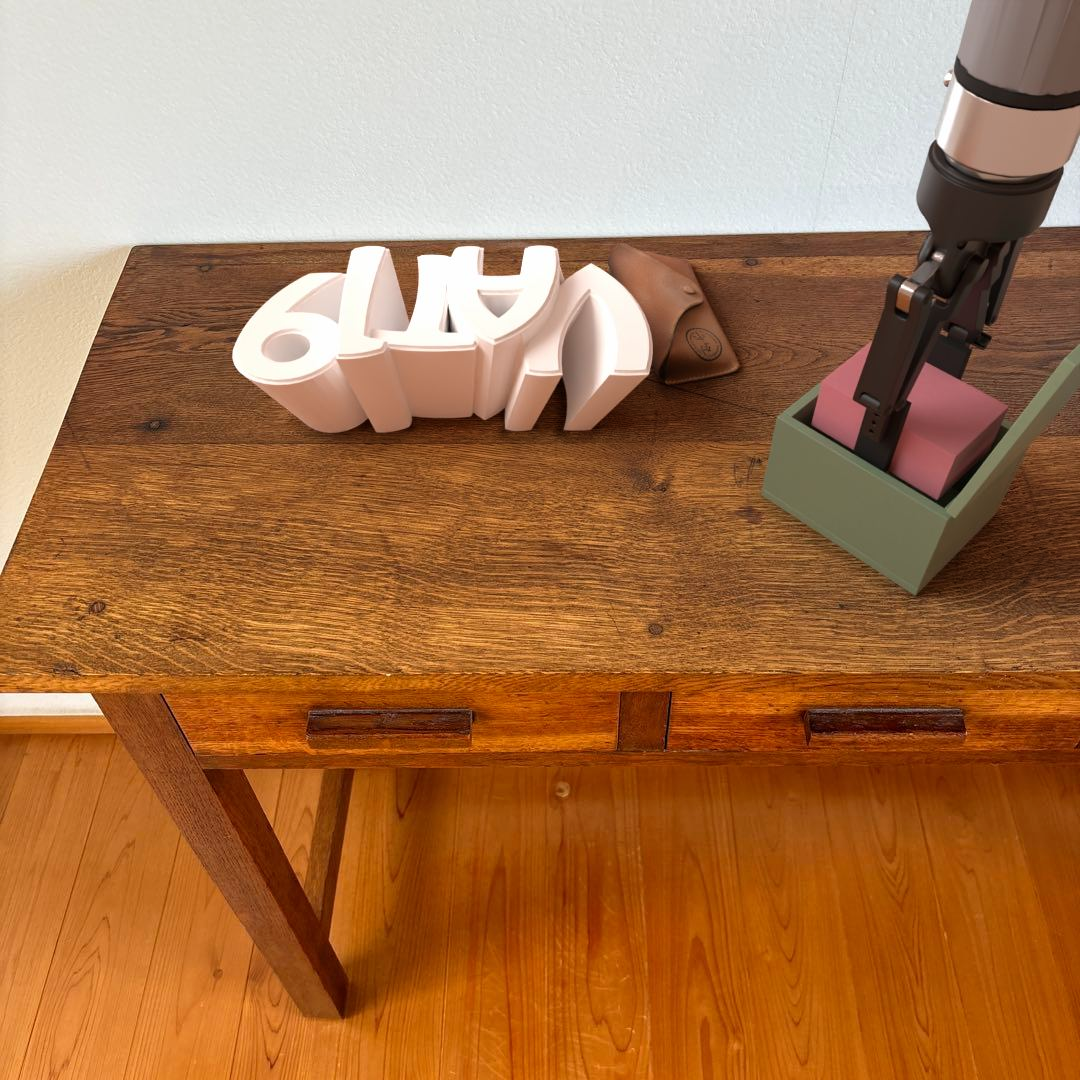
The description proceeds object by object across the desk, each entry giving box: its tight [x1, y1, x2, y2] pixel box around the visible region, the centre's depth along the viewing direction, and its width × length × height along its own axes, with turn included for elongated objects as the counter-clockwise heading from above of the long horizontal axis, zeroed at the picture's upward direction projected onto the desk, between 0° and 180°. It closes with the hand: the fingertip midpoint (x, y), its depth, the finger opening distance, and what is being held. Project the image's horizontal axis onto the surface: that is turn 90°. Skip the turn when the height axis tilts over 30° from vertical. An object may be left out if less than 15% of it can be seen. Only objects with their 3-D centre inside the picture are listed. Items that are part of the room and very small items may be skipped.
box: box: [760, 346, 1030, 596], centre depth 79 cm, size 15×12×9 cm
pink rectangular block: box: [811, 339, 1010, 500], centre depth 75 cm, size 11×7×4 cm, turn 44°
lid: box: [946, 343, 1080, 518], centre depth 65 cm, size 15×12×1 cm
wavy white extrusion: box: [232, 245, 653, 434], centre depth 88 cm, size 35×16×11 cm, turn 86°
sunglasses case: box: [607, 243, 740, 386], centre depth 96 cm, size 18×7×7 cm
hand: (900, 435), depth 76 cm, fingers closed on pink rectangular block, 7 cm apart
